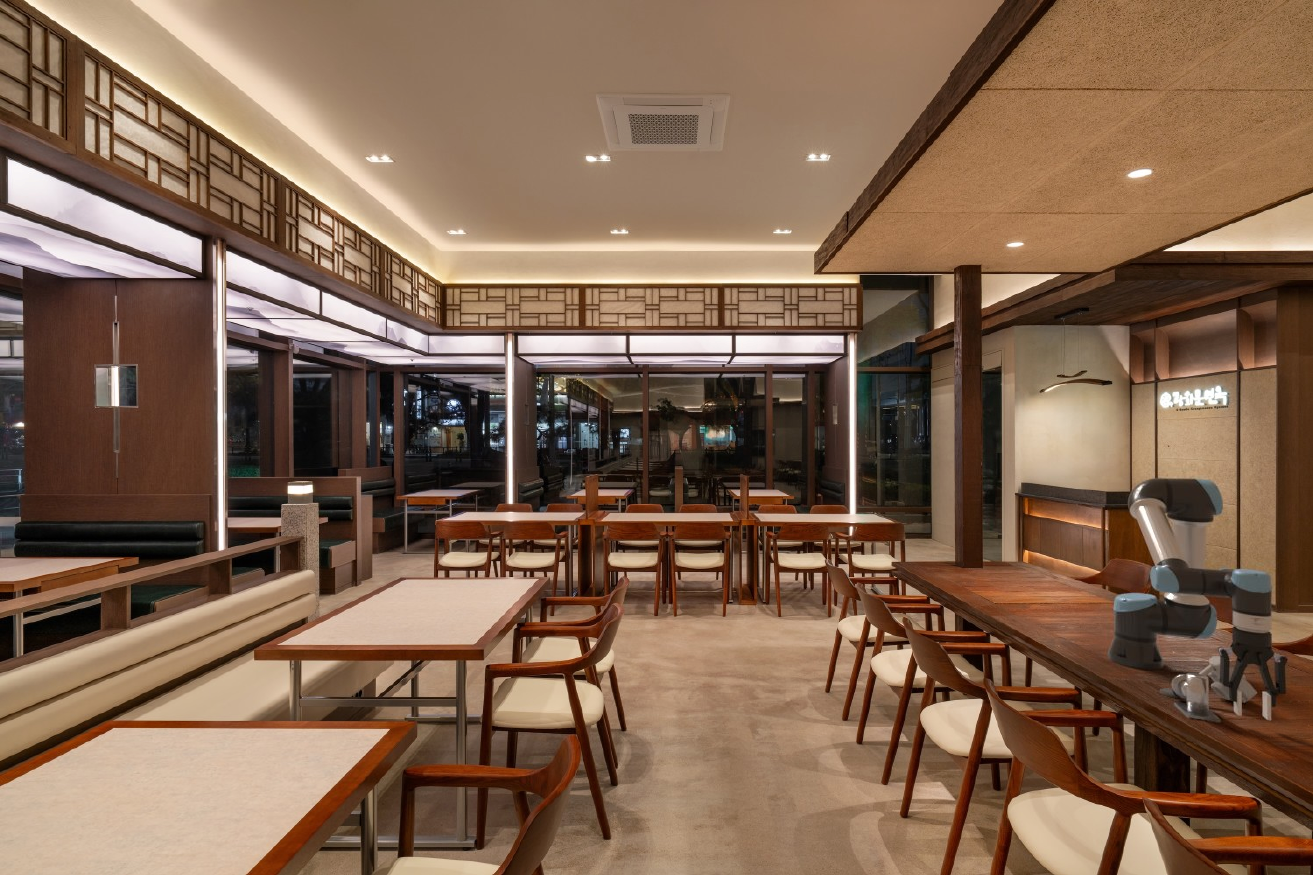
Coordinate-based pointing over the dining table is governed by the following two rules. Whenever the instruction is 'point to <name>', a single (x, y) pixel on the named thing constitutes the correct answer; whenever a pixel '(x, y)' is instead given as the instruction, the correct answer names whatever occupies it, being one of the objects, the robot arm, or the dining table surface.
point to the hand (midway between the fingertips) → (1252, 715)
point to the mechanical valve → (1218, 687)
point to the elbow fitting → (1194, 696)
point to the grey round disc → (1168, 693)
